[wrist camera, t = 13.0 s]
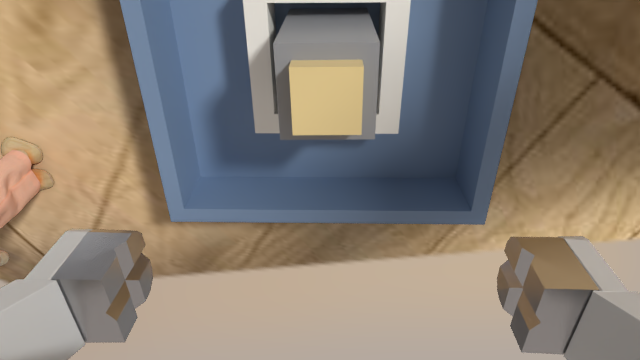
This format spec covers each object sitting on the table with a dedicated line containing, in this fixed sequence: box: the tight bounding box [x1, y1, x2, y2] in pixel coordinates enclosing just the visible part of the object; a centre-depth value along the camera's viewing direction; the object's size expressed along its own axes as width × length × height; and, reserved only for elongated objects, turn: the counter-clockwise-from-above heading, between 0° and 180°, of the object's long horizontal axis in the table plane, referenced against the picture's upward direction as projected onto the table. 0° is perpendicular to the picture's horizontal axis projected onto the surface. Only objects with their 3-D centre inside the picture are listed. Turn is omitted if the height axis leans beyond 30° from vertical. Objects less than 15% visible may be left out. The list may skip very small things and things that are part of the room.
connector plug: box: [273, 8, 380, 140], centre depth 22 cm, size 4×4×9 cm
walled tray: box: [120, 0, 538, 224], centre depth 24 cm, size 20×20×5 cm
